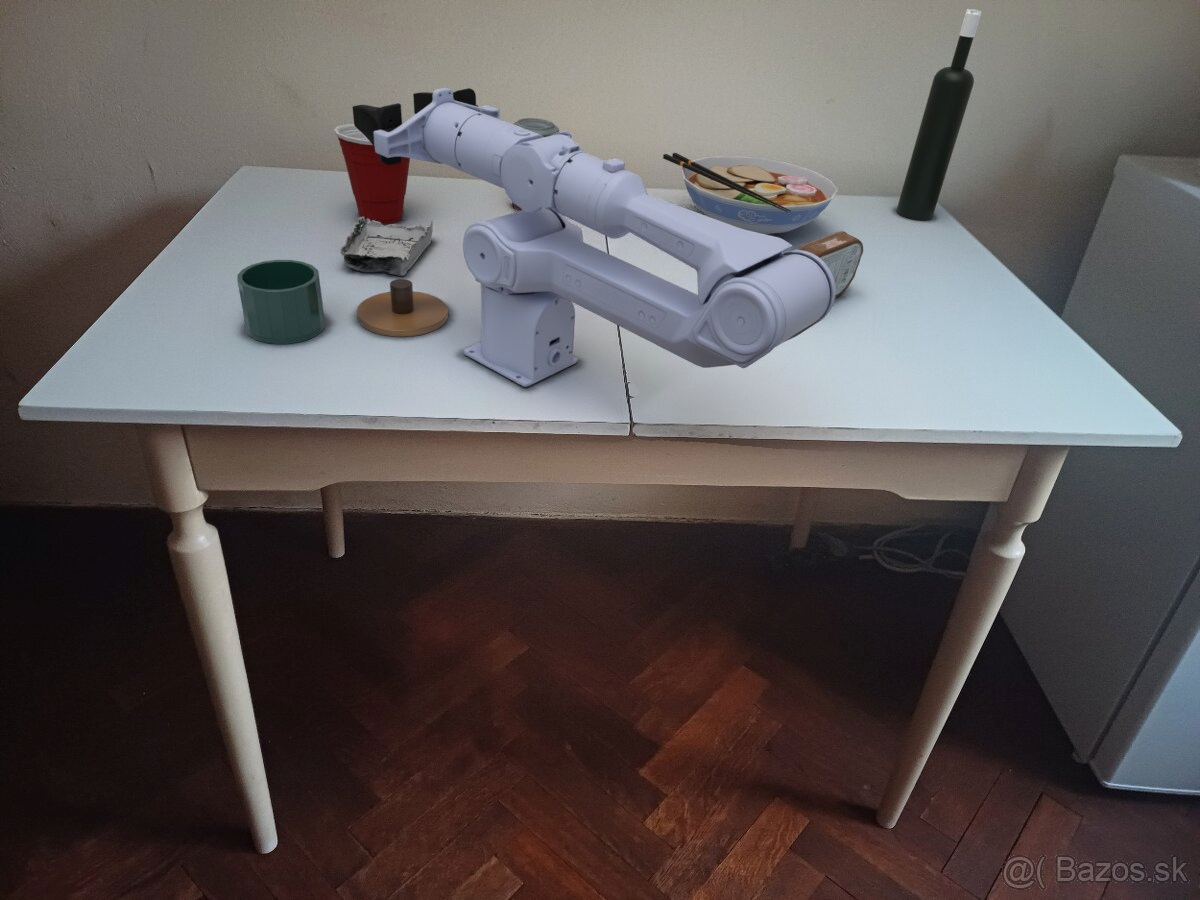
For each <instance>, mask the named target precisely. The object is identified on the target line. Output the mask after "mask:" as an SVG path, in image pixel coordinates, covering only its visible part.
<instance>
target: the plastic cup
mask: <svg viewBox="0 0 1200 900" xmlns="http://www.w3.org/2000/svg"><path fill="white" fill-rule="evenodd" d="M333 132H334V134H335V136H336V137H337V139H338V142H339V146H340V148H341V153H342V155H343V159H344V163H345V166H346V171H347V175H348V179H349V183H350V186H351V191H352V194H353V197H354V199H355V204H356V208H357V213H358V214H359V218H360V217H362V216H363V217H364V220H366V219H369V220H370V222H371V221H372V220H374V221H378V222H380V223H381V224H382V225H390V224H396V223H398V222H399V221H402V217H403V214H404V207H405V198H406V197H405V196H406V194H407V187H408V180H409V179H408V178H409V170H410V169H409V168H410V161H411V158H407V157H401V160H402V162H401V163H398V164H394V165H390V166H389V165H386V164H383V163H382V162H381V161H380V159H379V156H378V154H377V153H376V152H375V148H374V146H373V145H372V143H371V142H370V141H369V140H368V138H367V137H366V136H365V135H364V134H363V133H362V132H360V131H359V130H358V129H357V128H356V127H355V126H354V123H347V124H343V125H342V124H341V125H337V126H336V127H335V128H334V129H333Z"/></svg>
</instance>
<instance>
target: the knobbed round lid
mask: <svg viewBox="0 0 1200 900" xmlns="http://www.w3.org/2000/svg"><path fill="white" fill-rule="evenodd" d="M389 288H390V289H389V290H390V291H385V292H382V293H377V294H375V295H372V296H370V297H369V296H368V297H367V298H366V299H364V300H363V301H362V302H360V304H359V305H358V306H357V309H356V318H357V321H358V323H359V324H360V326H361V327H362V328H364V329H366V330H367V331H369V332H372V333H374V334H378V335H382V336H388V337H398V338H399V337H400V338H401V337H402V338H404V337H415V336H421V335H427V334H429V333H431V332H434V331H436V330H438V329H439V328H442V326H444V325H445V324H446V322H447V321H448V319H449V309H448V305H447V304H446V303H445V302H444V301H443V300H442V299H441V298H439V297H437V296H435V295H433V294H429V293H426V292H420V291H414V290H413V289H414V288H413V282H412V281H411V280H409V279H406V278H397V279H393V280H391V281H390V283H389Z"/></svg>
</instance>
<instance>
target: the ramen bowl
mask: <svg viewBox="0 0 1200 900" xmlns="http://www.w3.org/2000/svg"><path fill="white" fill-rule="evenodd" d="M662 159H663V160H666V161H668V162H670V163H672V164H675V165H677V166H679V167H681V168H680V172H681V175H682V178H683V181H684V185H685V187H686V188H685V189H686V191H687V192H688V194H689V197H690V199H691V201H692V202H693V203H694V205H695V207H696V209H698V210H699V211H700V212H701V214H703V215H705V216H708V217H710V218H713V219H716V220H719V221H721V222H724V223H727V224H730V225H732V226H735V227H738V228H741V229H744V230H748V231H752V232H757V233H761V234H765V235H770V236H771V235H773V234H782V233H788V232H790V231H791V232H792V231H793V230H796V229H798V228H800V227H804V226H805V225H808V224H810V223H811V222H812V221H814V220H815V219H816V218H818V216H819V215H821V213H823V212H824V210H825V209H826V208H827V207H828V206H829V205H830V203H831V202H832V200H834V197H835V196H836V194H837V193H838V191H839V189H838V188H837V187H836V185H835V184H834V183H833V181H832V180H831V179H830V178H829V177H828V178H827V177H826V176H824V175H822V174H821V173H819V172H817V171H816V170H813V169H810V168H806V167H803V166H800V165H797V164H794V163H791V162H786V161H781V160H777V159H771V158H766V157H759V156H758V157H757V156H747V155H746V156H744V155H718V156H717V155H716V156H715V155H713V156H712V155H711V156H705V157H701V158H698V159H694V160H691V159H689V158H687V157H686V156H683V155H681V154H679V153H678V152H672V155H670V154H668V153H663V155H662Z"/></svg>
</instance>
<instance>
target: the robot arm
mask: <svg viewBox="0 0 1200 900" xmlns="http://www.w3.org/2000/svg"><path fill="white" fill-rule="evenodd" d="M476 94H477V93H476V92H475V90H474V89H472V88H470V87H469V88H463V89H458V90H456V91H453V89H451V88H449V87H442V88H436V89H434V90H433V91H432V92H428V91H426V92H425V91H424V92H415V93H412V97H413V113H414V114H413V116H411V117H410V118H408V119H407V120H405V122H403V116H402V104H401V103H399V102H397V103H393V104H388V105H384V106H381V107H380V106H379V107H378V106H373V105H369V104H357V105H353V106H352V116H353V124H354V126H355V127H356V128H357V129H358V130H359V131H360V132H362V133H363V134H364V135H365V136H366V137H367V138H368V140H369V141H370V142H371V143H372V145H373V146H374V148H375V152H376V153H377V154H378V156H379V159H380V161H381V162H382V163H383V164H386V165H389V166H390V165H394V164H398V163H401V162H402V160H401V157H407V158H410V159H413V160H417V161H423V162H429V163H433V164H441V165H445V166H448V167H451V168H453V169H455V170H458V171H460V172H463V173H465V174H468V175H470V176H472V177H474V178H477V179H480V180H482V181H484V182H486V183H489V184H492V185H494V186H496V187H499V188H502V189H503V190H504V191H505V194H506V195H507V196H508V198H509V200H510V201H511V202H512V203H513V205H514V204H516V205H517V206H518V207H520V208H521V209H522V210H521V211H518V210H516V211H515V212H511V213H508V214H505V215H501V216H498V217H495V218H492V219H487V220H479V221H475V222H473V223H471V224H470V225H469V226H467V228H466V230H465V232H464V235H463V239H462V241H463V242H462V251H463V258H464V261H465V264H466V266H467V268H468V270H469V272H470V273H471V275H472V276H473V277H474V278H475V282H477V283H479V284H480V317H481V318H480V327H481V328H480V333H481V336H480V338H481V340H480V342H477V343H475V344H473V345H471V346H468V347H466V348H464V349H463V354H464V355H465V356H467V357H468V358H470V359H472V360H474V361H476V362H477V363H480V364H481V365H483V366H485V367H487V368H489V369H491V370H492V371H494V372H496V373H498V374H500V375H501V376H503V377H505V378H507V379H508V380H511V381H512V382H514V383H516V384H518V385H520V386H522V387H527V388H528V387H530V386H532V385H534V384H536V383H538V382H540V381H542V380H544V379H546V378H548V377H551V376H552V375H555V374H556V373H559V372H560V371H562V370H565V369H566V368H568V367H570V366H573V365H575V364H577V363H578V357H577V356H575V355H573V353H574V339H575V325H576V324H575V323H576V310H575V306H574V304H575V305H577V306H579V307H581V308H583V309H585V310H587V311H589V312H590V313H593V314H595V315H596V316H598V317H600V318H602V319H604V320H607V321H608V322H610V323H613V324H615V325H616V326H618V327H621V328H622V329H624V330H626V331H628V332H630V333H632V334H634V335H636V336H637V337H640V338H642V339H643V340H646V341H647V342H650V343H651V344H653V345H656V346H657V347H659V348H662V349H664V350H665V351H667V352H670V353H671V354H673V355H675V356H677V357H678V358H681V359H683V360H685V361H687V362H689V363H691V364H693V365H695V366H697V367H700V368H703V369H708V368H709V369H710V368H719V367H726V366H727V367H729V366H737V367H740V368H741V369H746V368H748V367H749V366H751V365H753V364H755V363H756V362H757V361H759V360H761V359H762V358H764V357H765V356H767V355H768V354H770V353H771V352H772V351H773V350H774V349H775V348H777V347H779V346H780V345H781V344H784V343H785V342H787V341H789V340H792V339H794V338H796V337H798V336H799V335H801V334H803V333H804V332H805V331H807V330H809V329H810V328H812V327H813V326H815V325H816V324H818V323H819V322H821V321H822V320H823V319H825V318H826V317H827V316H828V315H829V313H831V310H832V308H833V306H834V304H835V300H836V298H835V295H836V287H835V281H834V278H833V275H832V273H831V271H830V269H829V268H828V266H827V265H826V264H825V263H824V262H823V260H821V259H820V258H819V257H818V256H816V255H814V254H813V253H810V252H807V251H803V250H798V249H794V250H789V249H790V248H792V247H793V245H792V244H791V243H789V242H788V241H787V240H785V239H783V238H781V237H779V236H774V235H771V234H770V235H765V234H761V233H757V232H752V231H748V230H744V229H741V228H738V227H735V226H732V225H730V224H727V223H724V222H721V221H719V220H716V219H713V218H710V217H708V216H706V215H705V214H703V213H699V212H697V211H694V210H691V209H688V208H687V207H686V208H685V207H683V206H680V205H677V204H674V203H671V202H669V201H667V200H663V199H660V198H658V197H655V196H652V195H650V194H648V191H647V187H646V185H645V182H644V180H643V179H642V177H641V176H640V175H638V174H636V173H635V172H632V171H630V170H627V169H625V168H626V167H625V166H626V162H625V161H624V160H621V159H618V158H616V157H613V158H608V159H605V160H604V159H602V158H599V157H597V156H595V155H593V154H590V153H588V152H585V151H584V150H583V148H582V147H581V146H580V144H579V143H578V142H576V141H575V140H574V139H573V138H572V137H573V136H572V133H571V132H570V131H559V132H557V133H554V134H552V135H551V136H548V137H543V136H542V135H540V134H537V133H535V132H532V131H529V130H526V129H524V128H522V127H519V126H517V125H514V123H511V122H508V121H505V120H503V119H500V108H497V107H494V106H491V105H488V104H484V105H481V106H479V105H478V104H477V95H476ZM569 219H570V220H572V221H574V222H576V223H578V224H580V225H582V226H583V227H586V228H588V229H590V230H592V231H595V232H597V233H599V234H601V235H603V236H605V237H607V238H608V239H613V240H614V239H615V240H616V239H621V238H623V237H625V236H627V235H628V234H629V233H630V234H631V235H633V236H636V237H637V238H639V239H641V240H642V241H645V242H646V243H648V244H650V245H651V246H653V247H654V248H657V249H659V250H660V251H662V252H664V253H666V254H667V255H669V256H671V257H673V258H674V259H676V260H678V261H679V262H681V263H683V264H685V265H687V266H688V267H691V268H692V269H694V270H695V271H696V276H697V279H696V280H697V293H695V292H693V291H690V290H688V289H686V288H685V287H682V286H680V285H678V284H676V283H673V282H671V281H668V280H666V279H665V278H662V277H660V276H658V275H656V274H654V273H651V272H649V271H647V270H645V269H643V268H640V267H638V266H636V265H635V264H632V263H629V262H628V261H626V260H623V259H621V258H619V257H617V256H615V255H612V254H610V253H608V252H606V251H604V250H602V249H599V248H597V247H595V246H594V245H591V244H588V243H586V242H584V236H583V229H582V227H580V226H578V225H576V224H574V223H572V222H571V221H570V220H569ZM786 250H789V251H786ZM784 251H786V252H784ZM783 252H784V253H783Z"/></svg>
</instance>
